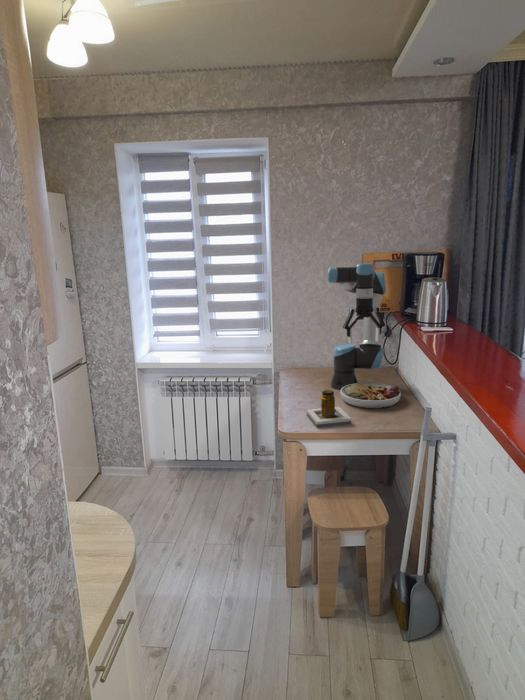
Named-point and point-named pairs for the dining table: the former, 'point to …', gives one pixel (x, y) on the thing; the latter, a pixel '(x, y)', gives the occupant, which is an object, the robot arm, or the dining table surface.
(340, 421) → the pocket plate
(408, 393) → the dining table surface
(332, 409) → the condiment
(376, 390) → the bowl
